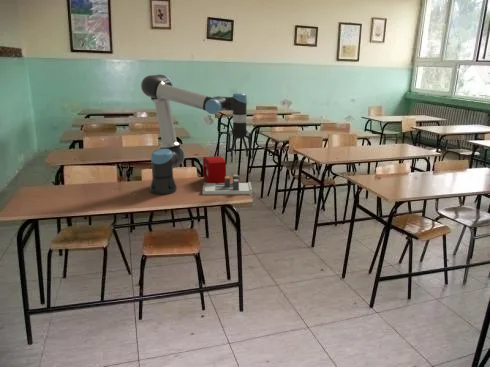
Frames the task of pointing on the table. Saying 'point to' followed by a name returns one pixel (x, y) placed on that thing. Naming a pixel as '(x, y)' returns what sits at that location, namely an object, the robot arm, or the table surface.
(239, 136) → the robot arm
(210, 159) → the red rectangular box
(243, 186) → the white slider panel
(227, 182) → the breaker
